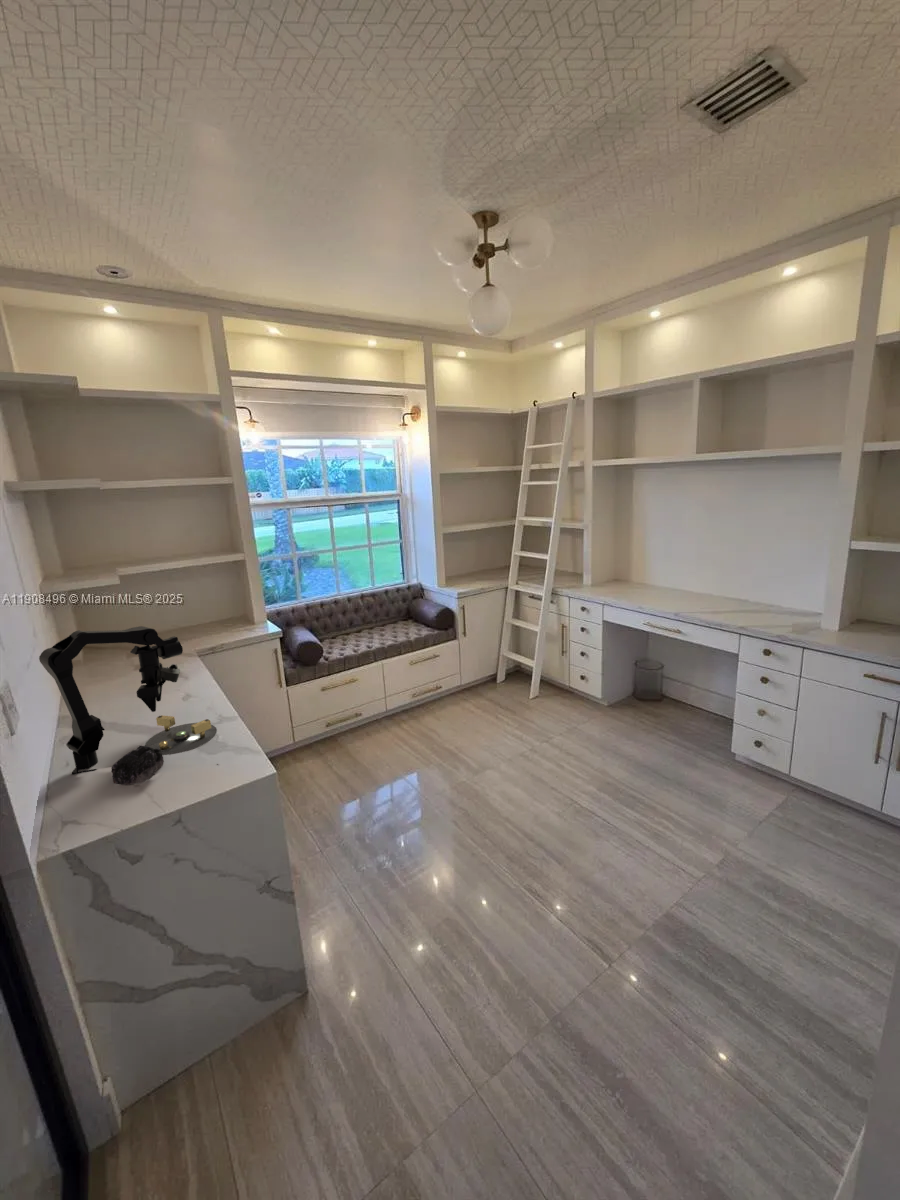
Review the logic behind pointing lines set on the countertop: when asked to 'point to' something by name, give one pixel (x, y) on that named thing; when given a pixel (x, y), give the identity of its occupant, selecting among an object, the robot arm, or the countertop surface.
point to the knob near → (201, 727)
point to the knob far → (165, 722)
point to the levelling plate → (179, 739)
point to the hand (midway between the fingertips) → (156, 706)
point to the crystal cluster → (137, 766)
